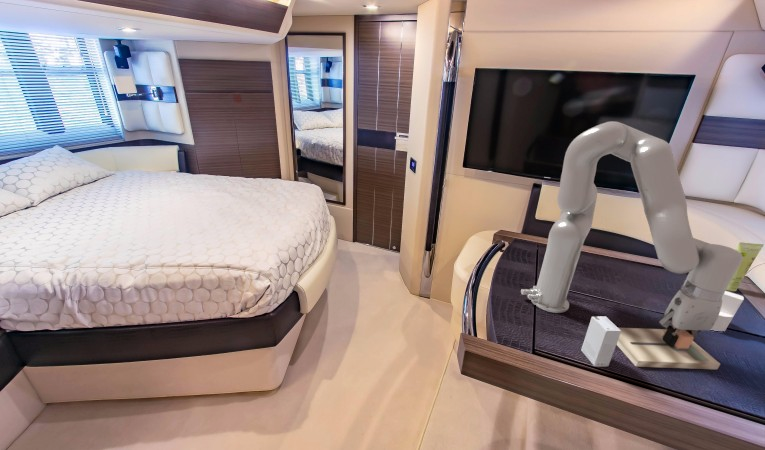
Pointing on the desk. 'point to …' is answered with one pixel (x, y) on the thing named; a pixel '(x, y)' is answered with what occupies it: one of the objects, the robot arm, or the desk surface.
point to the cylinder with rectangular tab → (727, 310)
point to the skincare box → (600, 341)
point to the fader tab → (682, 340)
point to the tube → (744, 263)
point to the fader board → (661, 351)
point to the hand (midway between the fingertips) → (674, 343)
